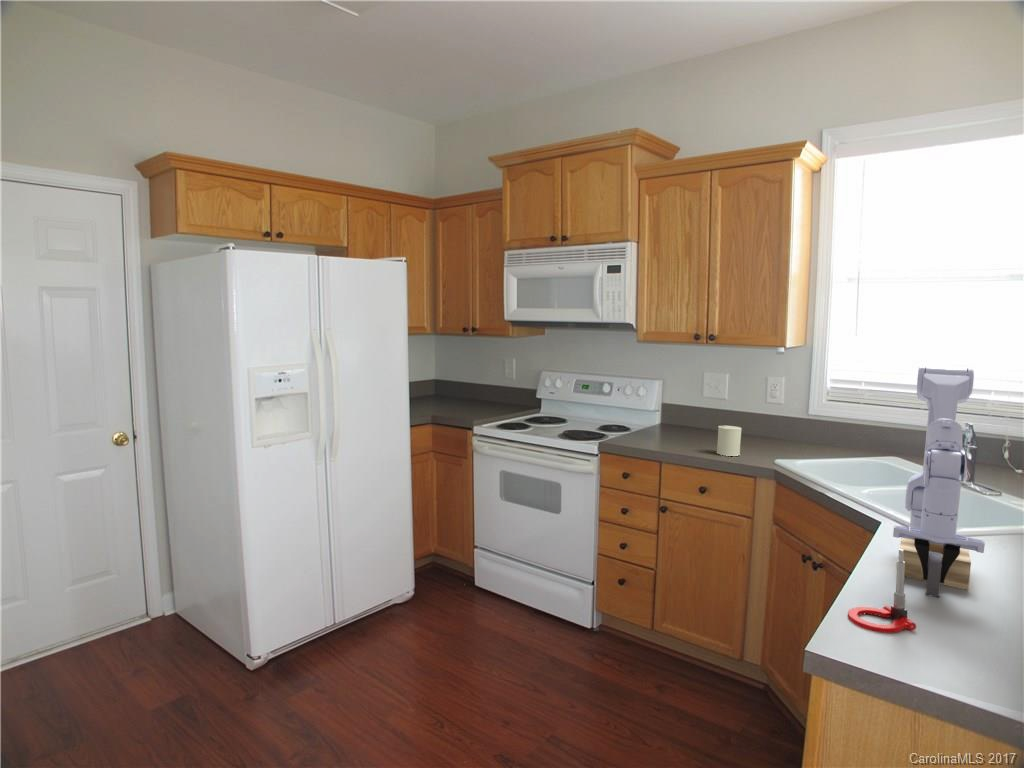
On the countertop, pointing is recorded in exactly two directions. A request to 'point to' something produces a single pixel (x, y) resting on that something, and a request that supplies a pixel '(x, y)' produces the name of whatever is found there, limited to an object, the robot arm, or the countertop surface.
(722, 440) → the can
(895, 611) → the tow hook
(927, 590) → the grey flat piece
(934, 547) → the slotted wooden block
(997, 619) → the countertop surface
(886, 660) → the countertop surface
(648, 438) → the countertop surface
